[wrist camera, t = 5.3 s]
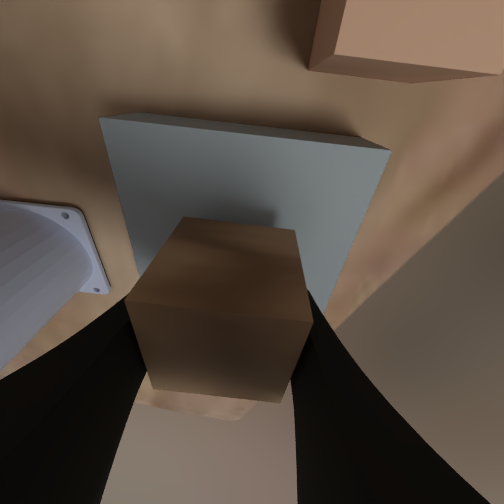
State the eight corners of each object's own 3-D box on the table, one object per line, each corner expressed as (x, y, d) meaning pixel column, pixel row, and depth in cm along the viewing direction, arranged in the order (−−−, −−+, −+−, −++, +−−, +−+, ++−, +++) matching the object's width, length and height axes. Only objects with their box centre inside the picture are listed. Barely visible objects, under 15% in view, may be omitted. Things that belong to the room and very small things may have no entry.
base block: (169, 276, 19) (149, 313, 16) (143, 111, 12) (98, 117, 9) (307, 290, 19) (316, 330, 16) (358, 136, 12) (392, 150, 9)
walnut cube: (189, 295, 13) (152, 388, 9) (183, 216, 10) (124, 300, 6) (276, 305, 13) (280, 403, 9) (294, 229, 10) (313, 322, 6)
